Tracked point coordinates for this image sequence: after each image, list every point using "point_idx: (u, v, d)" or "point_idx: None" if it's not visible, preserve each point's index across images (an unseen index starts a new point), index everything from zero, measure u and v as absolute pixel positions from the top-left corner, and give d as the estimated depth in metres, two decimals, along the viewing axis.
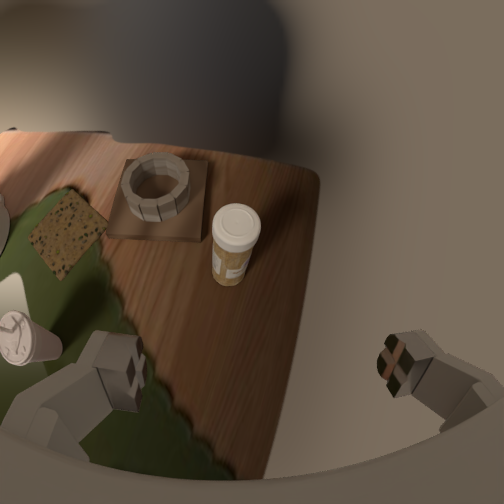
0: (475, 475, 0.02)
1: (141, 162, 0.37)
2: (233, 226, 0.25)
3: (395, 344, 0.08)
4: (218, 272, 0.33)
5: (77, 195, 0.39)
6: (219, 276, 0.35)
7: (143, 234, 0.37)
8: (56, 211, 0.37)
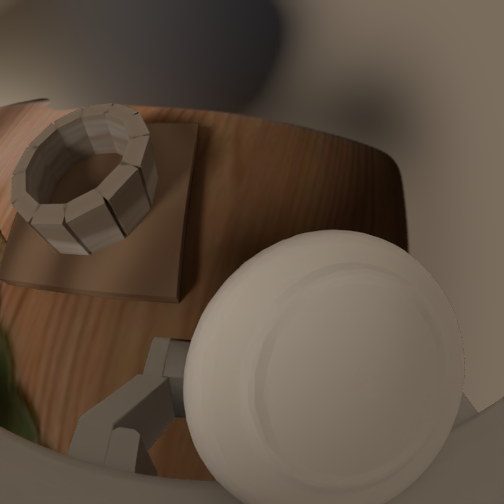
0: (475, 475, 0.02)
1: (58, 127, 0.14)
2: (343, 421, 0.03)
3: None
4: None
5: None
6: None
7: (55, 284, 0.14)
8: None
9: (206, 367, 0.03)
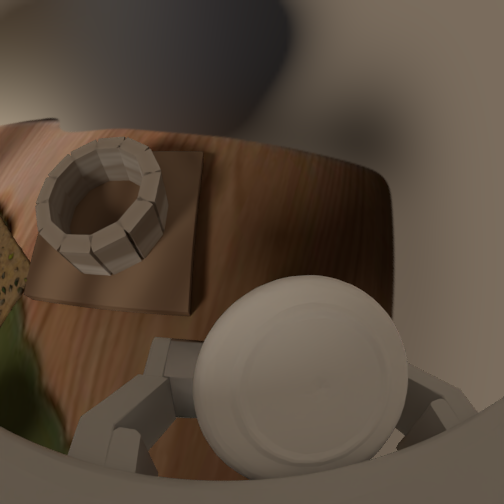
0: (475, 475, 0.02)
1: (75, 159, 0.17)
2: (302, 414, 0.04)
3: None
4: None
5: None
6: None
7: (80, 301, 0.17)
8: None
9: (208, 377, 0.04)
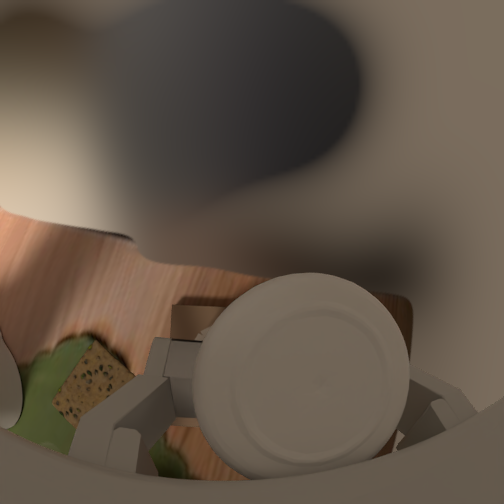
0: (475, 475, 0.02)
1: None
2: (302, 413, 0.04)
3: None
4: None
5: (106, 353, 0.28)
6: None
7: None
8: (82, 374, 0.26)
9: (208, 375, 0.04)
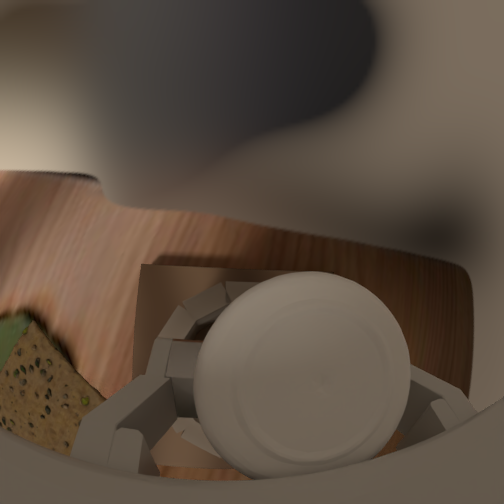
0: (475, 475, 0.02)
1: (197, 317, 0.14)
2: (304, 412, 0.04)
3: None
4: None
5: (45, 340, 0.16)
6: None
7: (224, 467, 0.14)
8: (14, 370, 0.14)
9: (209, 373, 0.04)
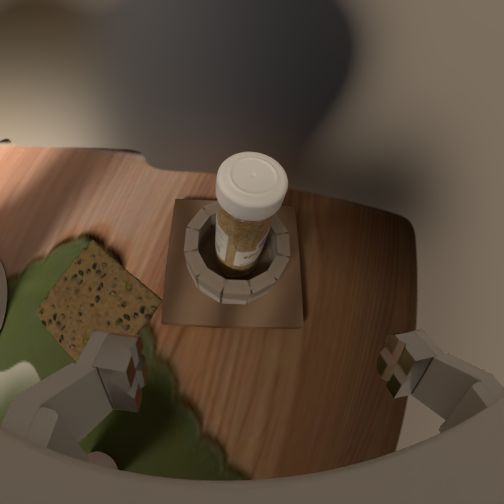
0: (475, 475, 0.02)
1: (211, 213, 0.26)
2: (248, 180, 0.17)
3: (395, 344, 0.08)
4: (223, 257, 0.24)
5: (102, 251, 0.29)
6: (224, 263, 0.26)
7: (222, 324, 0.26)
8: (73, 275, 0.27)
9: (221, 170, 0.17)
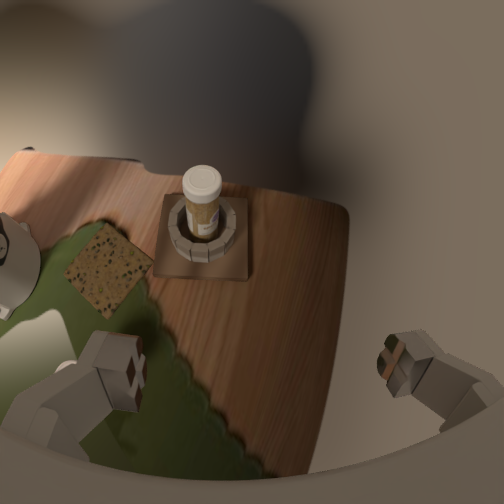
0: (475, 475, 0.02)
1: None
2: (198, 181, 0.30)
3: (395, 344, 0.08)
4: (192, 229, 0.38)
5: (113, 230, 0.42)
6: (193, 234, 0.39)
7: (192, 275, 0.40)
8: (92, 246, 0.40)
9: (185, 176, 0.30)
